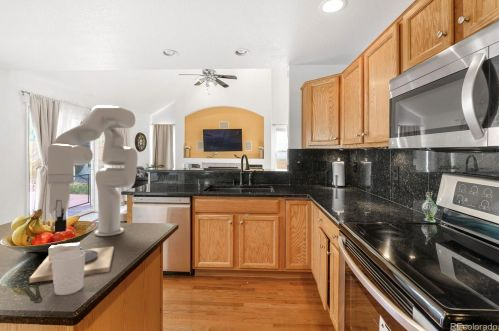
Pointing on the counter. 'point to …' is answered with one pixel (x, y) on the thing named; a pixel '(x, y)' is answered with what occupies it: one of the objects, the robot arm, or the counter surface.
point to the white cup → (68, 271)
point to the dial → (59, 248)
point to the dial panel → (95, 266)
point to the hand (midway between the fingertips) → (60, 231)
